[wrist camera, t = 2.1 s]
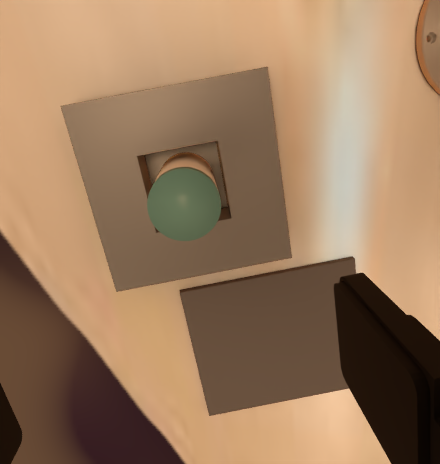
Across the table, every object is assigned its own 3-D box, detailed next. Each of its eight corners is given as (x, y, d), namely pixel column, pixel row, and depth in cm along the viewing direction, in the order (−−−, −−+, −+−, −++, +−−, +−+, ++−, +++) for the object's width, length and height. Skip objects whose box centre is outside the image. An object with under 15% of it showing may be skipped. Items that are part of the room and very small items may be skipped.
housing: (258, 71, 32) (267, 66, 29) (281, 242, 38) (291, 257, 34) (75, 106, 32) (60, 106, 28) (124, 273, 37) (116, 291, 34)
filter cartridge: (208, 147, 34) (213, 162, 25) (217, 200, 36) (226, 233, 26) (153, 157, 34) (139, 177, 25) (166, 210, 36) (156, 247, 26)
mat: (352, 256, 39) (354, 258, 38) (361, 381, 44) (363, 385, 43) (179, 290, 38) (179, 292, 38) (209, 411, 44) (209, 415, 43)
